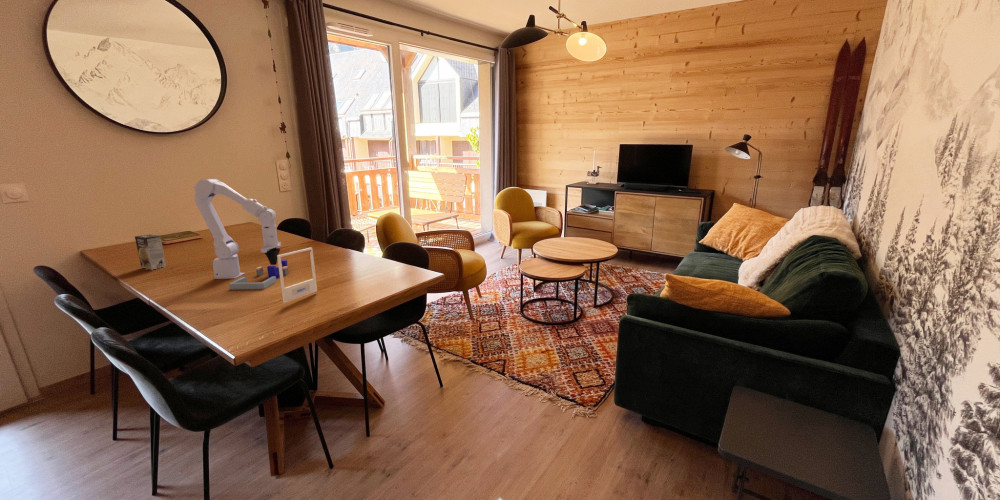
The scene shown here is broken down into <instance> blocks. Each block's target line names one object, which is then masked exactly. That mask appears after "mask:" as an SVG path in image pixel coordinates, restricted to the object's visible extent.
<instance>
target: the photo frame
mask: <svg viewBox="0 0 1000 500" xmlns="http://www.w3.org/2000/svg"><path fill="white" fill-rule="evenodd" d="M308 251H309V255H310V256H309V257H310V264H311V274H312V278H310V279H307V280H304V281H301V282H297V283H295V284H291V285H289V286H285V282H284V281H285V279H284V275H283V271H282V263H281V260H282V258H283V257H287V256H290V255H291V256H292V255H295V254H299V253H303V252H308ZM277 264H278V265H277V267H278V266H279V274H280V277H279V280H280V288H281V295H282V302H283V303H284V304H285V303H288V302H291V301H293V300H294V301H295V300H298V299H300V298H302V297H304V296H308V295H311V294H313V293H316V292H318V286H317V278H316V268H315V267H316V266H315V259H314V249H313V247H307V248H303V249H299V250H294V251H291V252H285V253H282V254H278V255H277Z"/></svg>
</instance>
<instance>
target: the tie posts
mask: <svg viewBox="0 0 1000 500" xmlns="http://www.w3.org/2000/svg"><path fill="white" fill-rule="evenodd" d="M255 271H256V272H255V273H256V276H257V277H260V276H262V275H264V266H258V267H255ZM282 271H283V276H287V275H288V274H290V273H289V266H284V267H282Z"/></svg>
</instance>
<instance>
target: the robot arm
mask: <svg viewBox="0 0 1000 500" xmlns="http://www.w3.org/2000/svg"><path fill="white" fill-rule="evenodd" d="M193 187H194V188H193V189H194V191H195V193H194V203H195V204H196V206H197V209H198V210H199V212H200V214H201V217H202V218H203V220H204V222H205V224H206V225H207V228H208V231H210V233H211V236H212V237H213V239H214V240H213V244H212V245H213V247H214V253H215V255H216V256H215V257H216V258H214V260H213V262H212V268H213V269H212V270H213V274H214V277H213V279H215V280H218V279H219V280H222V279H225V280H226V279H237V278H239V277H241V276H244V275H245V274H246V272H241V268H240V263H239V255H238V253H239V251H240V246H239V244H238V242H235V240H234V239H233V237H231V236H230V235H229V234H228V232H227V229H225V227H224V225H223V223H222V220H221V219H220V218H221V217H219V214H218V213H217V211H216V209H215V206H214V205H213V199H214V198H215V196H216V195H221V196H226V197H227V198H229V199H231V200H233V201H235V202H236V203H237V204H240V205H241V206H242V208H243V210H245V211H246V212H248V213H250V214H251V215H253V216H254V217H256V218H258V221H259V222H260V224H261V233H262V240H263V246H262V247H261V248H260V253H261V254H262V253H263V254H264V255H265V256H266V258H267V259H268V263H269V265H270V266H276V265H277V264H278V258H277V255H280V254H279V253H280V251H281V248H279V247H282V242H281V241H279V240H278V231H277V223H276V219H277V213H276V211H275V210H274V209H272V208H268V206H266V205H263V204H262V203H260V202H258V200H257V199H256V198H254V199H253V198H247V197H245V196H244V195H242V194H240V193H239V192H237V191H236V190H234V189H233V188H232V187H230V186H229V185H227V184H226V183H225V182H223V181H221V180H219V179H217V178H208V179H206V178H203V179H200V180H198V181H197V182H196V184H195V185H194V186H193Z"/></svg>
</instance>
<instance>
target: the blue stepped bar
mask: <svg viewBox="0 0 1000 500" xmlns="http://www.w3.org/2000/svg"><path fill="white" fill-rule="evenodd" d="M281 263H282V267H284V266H288V265H289V264H288V260H287V259H281ZM288 267H289V266H288ZM266 269H267V276H268V279H269V278H271V277H272V276H276V280H277V279H280V274H279V266H278V265H277V266H276V265H268V266H267V267H266Z"/></svg>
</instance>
